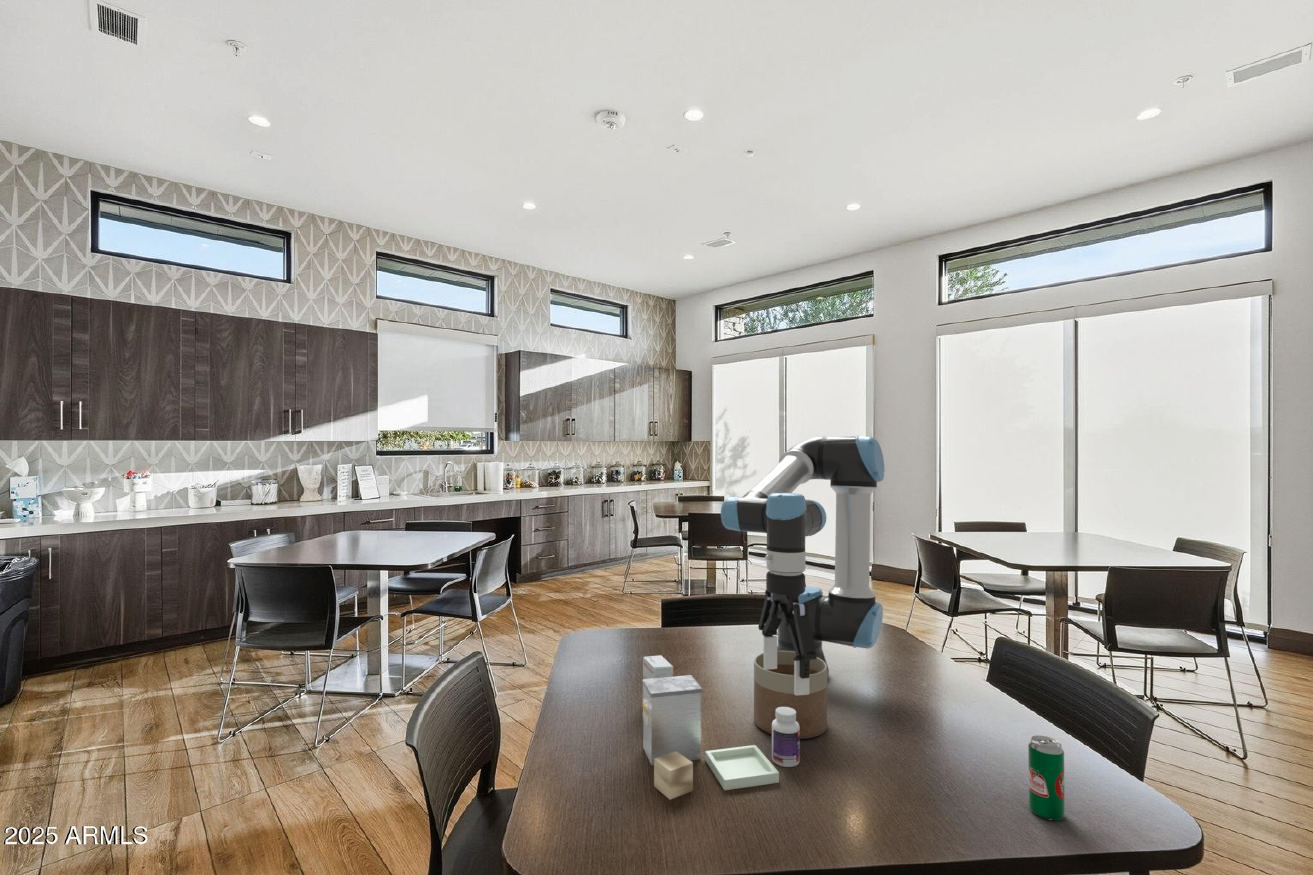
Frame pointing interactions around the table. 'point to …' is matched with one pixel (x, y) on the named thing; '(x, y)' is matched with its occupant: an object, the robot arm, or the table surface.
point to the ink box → (656, 668)
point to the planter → (790, 694)
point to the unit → (672, 717)
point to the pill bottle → (785, 738)
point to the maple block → (673, 775)
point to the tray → (741, 767)
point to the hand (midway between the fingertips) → (785, 680)
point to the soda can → (1046, 777)
